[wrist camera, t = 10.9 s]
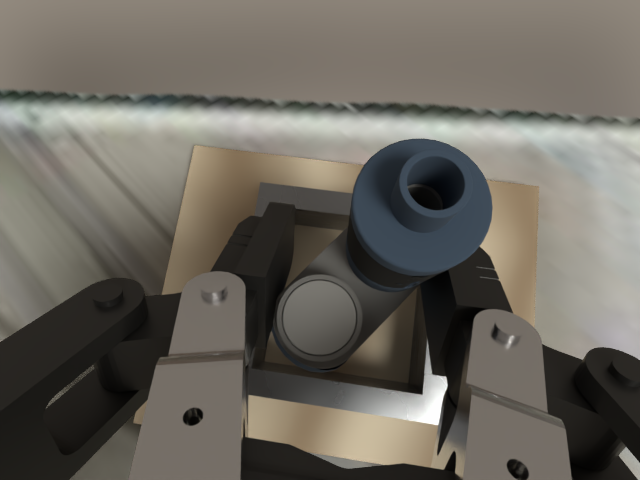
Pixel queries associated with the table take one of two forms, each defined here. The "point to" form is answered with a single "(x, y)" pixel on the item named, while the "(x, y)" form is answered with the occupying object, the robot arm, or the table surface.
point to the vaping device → (384, 250)
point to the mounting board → (240, 202)
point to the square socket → (332, 387)
